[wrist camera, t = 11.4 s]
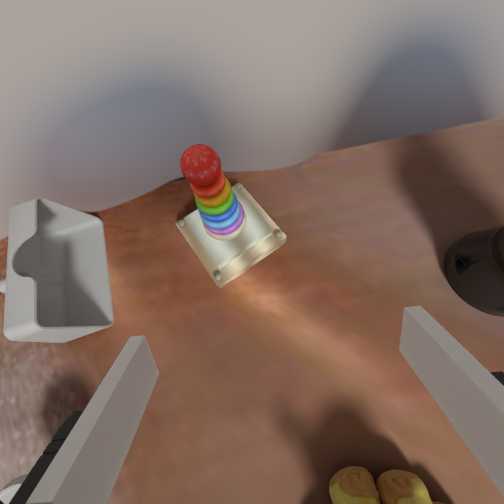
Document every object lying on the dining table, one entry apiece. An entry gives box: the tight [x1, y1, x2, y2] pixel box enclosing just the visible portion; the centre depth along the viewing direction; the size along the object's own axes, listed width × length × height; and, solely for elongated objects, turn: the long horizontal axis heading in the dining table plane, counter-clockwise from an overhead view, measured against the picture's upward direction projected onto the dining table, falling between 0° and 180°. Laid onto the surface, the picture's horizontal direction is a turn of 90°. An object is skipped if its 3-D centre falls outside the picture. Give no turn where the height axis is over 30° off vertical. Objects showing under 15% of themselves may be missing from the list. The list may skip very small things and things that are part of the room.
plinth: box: [176, 183, 286, 289], centre depth 50 cm, size 16×16×6 cm
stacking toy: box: [180, 144, 246, 241], centre depth 39 cm, size 8×8×19 cm
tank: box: [0, 197, 114, 343], centre depth 47 cm, size 25×16×12 cm, turn 19°
